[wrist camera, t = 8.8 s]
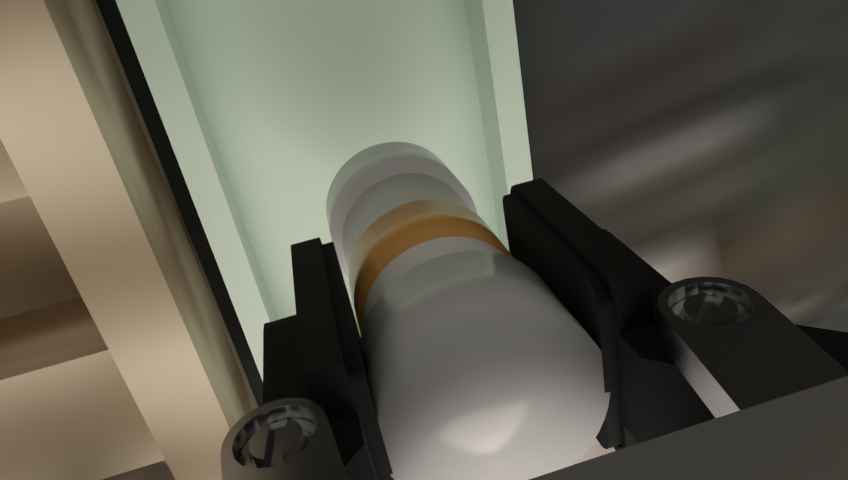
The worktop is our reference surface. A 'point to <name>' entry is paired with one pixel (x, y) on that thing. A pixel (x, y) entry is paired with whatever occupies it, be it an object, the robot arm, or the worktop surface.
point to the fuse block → (98, 272)
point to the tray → (323, 115)
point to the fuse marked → (457, 329)
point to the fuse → (147, 473)
